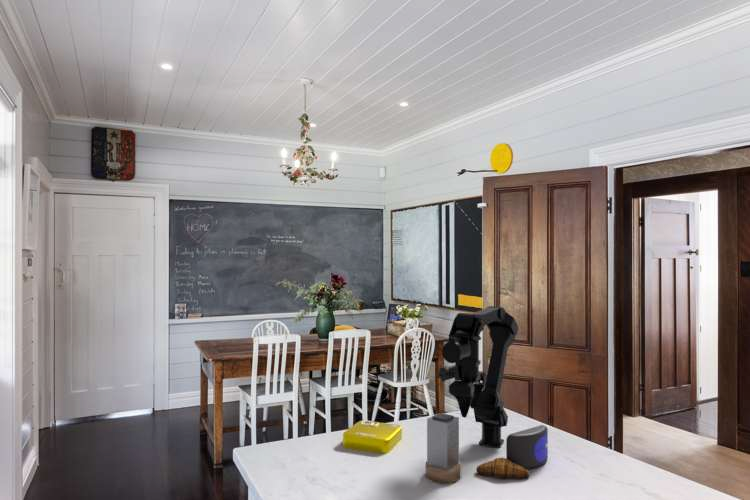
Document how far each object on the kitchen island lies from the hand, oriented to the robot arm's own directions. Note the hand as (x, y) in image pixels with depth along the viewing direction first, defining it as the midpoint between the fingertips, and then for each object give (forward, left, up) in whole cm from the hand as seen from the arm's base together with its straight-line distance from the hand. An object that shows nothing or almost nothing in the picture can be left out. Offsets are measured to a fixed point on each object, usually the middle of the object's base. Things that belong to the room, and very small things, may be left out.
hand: (468, 412), depth 143 cm
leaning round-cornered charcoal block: (-4, +16, -13) cm, 21 cm away
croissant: (+7, +11, -14) cm, 19 cm away
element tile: (0, -30, -14) cm, 33 cm away
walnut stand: (+14, -3, -13) cm, 19 cm away
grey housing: (+14, -3, -10) cm, 17 cm away
